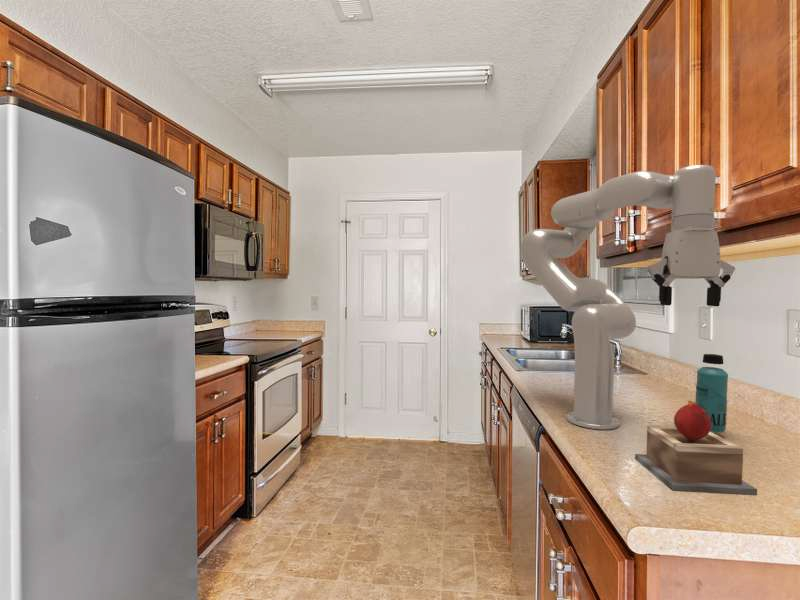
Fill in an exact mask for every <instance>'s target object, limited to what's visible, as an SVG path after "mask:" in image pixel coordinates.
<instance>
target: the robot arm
mask: <svg viewBox="0 0 800 600" xmlns="http://www.w3.org/2000/svg"><path fill="white" fill-rule="evenodd" d="M716 176H717V175H716V168H714V166H712V165H708V164H695V165H688V166H684V167H681V168H679V169H677V170H676V171H675V172H674V173H673V175H672V174H671V175H669V174H662V173H659V172H656V171H655V172H654V171H649V170H648V171H647V170H640V171H634V172H631V173H626V174H623V175H620V176H615V177H613V178H609V180H608V179H607V181H605V182H604V183H603V184H601V185H600V186H599V187H598V188H595V189H592V190H588V191H584V192H581V193H576V194H572V195H570V196H566V197H563V198H560V199H559V200H558V201H556V202H555V203H554V204H553V205H552V207H551V213H550V214H551V215H550V216H551V219H552V220H553V222H554V223H555V224H556V225H558V226H559V227H563V228H564V229H563V230H560V229H549V228H537V229H531V230H529V231H528V232H526V234H525V235H524V236H523V238H522V240H521V245H520V252H521V257H522V262H523V263H524V265H525V267H526V268H527V269H526V270H528V271H529V272H530V274H531V275H532V276H534V278H535V279H536V280H537V281H538V282H539V283H540V284H541V285H542V286H543V288H544V289H545V290H546V292H547V293H548V294H549V295H550V296H551V298H552V299H553V300H554V301H555V303H557V305H558V306H559V307H560V308H561V309H563V310H564V311H567V312H574V313H573V315H572V317H571V318H572V319H571V329H572V334H573V342H574V376H573V377H574V380H573V381H574V382H573V384H574V385H573V410H572V411H571V412H568V413H567V415H566V420H567V421H568V422H570V423H571V424H573V425H577V426H579V427H583V428H586V429H593V430H594V429H595V430H613V429H614V430H615V429H617V428H618V427H620V426H619V425H620V420H618V419H617V418H616V417H614V416H613V415H614V414H613V412H614V411H613V410H614V407H613V406H614V380H615V379H614V378H615V377H614V375H615V374H614V373H615V355H614V349H613V347H612V344H611V342H610V340H616V339H624V338H627V337H629V336H630V335H632V333H634V331H635V329H636V326H637V320H636V316H635V313H634V312H633V311H632V309H631V308H630V307H629V305H627V303H626V302H625V301H624V300H623V299H622V298H621V297H619V295H618V294H617V293H615V291H614V290H612V288H611V287H610V286H608V285H607V284H606V283H604V281H601V280H599V279H596V278H585V277H578V276H576V275H575V274H574V273H573V272H572V271H571V270H569V268H568V267H567V266H566V265H565V264H564V263H562V262H561V261H560V260H558V259H567V258H570V257H572V256H573V255H575V254H576V253H577V252H578V250H579V249H580V248H581V247H582V245H583V244H584V243H585V242H586V241H587V239H588V238H589V237H590V235H592V233H593V232H594V231H595V229H596V228H597V226H598V225H599V223H600V222H603V221H604V222H605V221H607V220H610V219H611V218H612V217H613V215H614V214H615V212H616V210H618V209H622V208H627V207H633V206H638V207H645V208H651V209H656V210H657V209H658V210H667V209H671V222H670V224H671V225H670V226H671V227H670V231H669V232H667V233H666V234H665V237H664V243H663V247H662V252H661V259H660V260H658V261H655V262H654V263H652V264H649V265H648V266H647V267H646V269H647V271H648V273H649V275H650V276H651V277H650V279H651V280H652V281H654V283H655V284H656V286H657V287H658V291H659V292H658V300H659V302H660V306H671V305H672V299H673V298H672V297H673V287H672V286H670V285H671V284H672V283H673V282H674V280H676V279H685V280H686V279H691V280H692V279H704V281H706V282H707V284H708V285H709V287H707V289H706V306H708V307H720V304H721V298H722V288H724V287H725V285H726V283H728V282H729V281H730V279H731V278H732V275H734V272H735V270H736V267H735V266H733V265H732V264H730V263H728V262H726V261H723V260H721V249H720V242H719V241H720V240H719V236H718V232H717V230H714V229H715V228H717V227H719V226H720V224H721V223H720V222H721V221H720V220H719V219H718V220H717V219H716V217H715V207H716V206H715V205H716V202H715V201H716V184H717V183H716V178H717V177H716ZM659 269H660V271H659ZM721 270H722V274H721V275H720V273H721ZM659 272H660V273H659ZM719 275H720V276H719Z"/></svg>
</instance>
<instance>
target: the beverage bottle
mask: <svg viewBox="0 0 800 600" xmlns="http://www.w3.org/2000/svg"><path fill="white" fill-rule="evenodd" d="M702 363H704V364H712V365H724V356H723V355H720V354H717V353H715V354H714V353H705V354H703V355H702ZM728 379H729V373H728V372H726V371H725V370H724V369H723V368H720V367H713V366H701V367H700V368H699V369H697V371H696V385H695V393H694V394H695V400H694V401H695V402H696V404H697V405H698V406H700V407H701V408H702V409H703V410H704V411H705V412H706V413H707V414H708V416H709V417H710V420H711V431H710V432H712V433H718V434H719V433H725V432H726V429H727V420H728V419H727V415H728V413H727V411H728V384H729V383H728V381H729V380H728Z"/></svg>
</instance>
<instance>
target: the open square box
mask: <svg viewBox="0 0 800 600" xmlns="http://www.w3.org/2000/svg"><path fill="white" fill-rule="evenodd" d="M634 459H635V460H637V462H638V463H640V464H641V466H643V467H645V468H646V469H647V470H648V471H649V472H650V473H651V474H652V475H654V476H655V477H656V478H657V479H659V480H660V481H661V482H662V483H663V484H665V485H666V486H667V487H668V488H669V489H671V490H672V491H674V492H675V491H677V492H680V491H681V492H694V493H695V492H696V493H711V494H712V493H714V494H715V493H716V494H731V495H732V494H734V495H750V496H751V495H752V496H757V495H758V489H757V488H756V487H754V486H753V485H751V484H749V483H748V482H747V481H745V480H743V464H744V448H743V447H740V446H739V445H737V444H735V443H733V442H731V441H729V440H727V439H725V438H723V437H721V436H719V435H718V434H715V432H709V433H708V435H706V436H705V437H703V438H702V439H699V440H696V441H694V442H691V441H689V440H687V438H686V437H685V436H683V435H682V434H681V433H680V432H679V431H678V429H677V428H676V426H660V425H659V426H657V425H656V426H655V425H647V427H646V454H644V453H643V454H642V453H635V454H634Z"/></svg>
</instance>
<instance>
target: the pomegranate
mask: <svg viewBox="0 0 800 600" xmlns="http://www.w3.org/2000/svg"><path fill="white" fill-rule="evenodd" d="M695 401H696V400H693V399H690V400H688V403H687V404H685V405H683V406H681V407H680V408H679V409H678V410H677V411H676V412H675V414H674V416H673V417H674V418H673V423H674V427H676V428H677V429H678V431H679V432H680V433H681V434H682V435H683V436H685V437H686V438H687V440H689V441H691V442H694V441H696V440H699V439H702V438H703V437H705V436H706V435H708V433H709V432H710V431H711V420H710V417H709V416H708V414H707V413H706V412H705V411H704V410H703V409H702V408H701V407H700V406H698V405H697V404H696V402H695Z"/></svg>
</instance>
